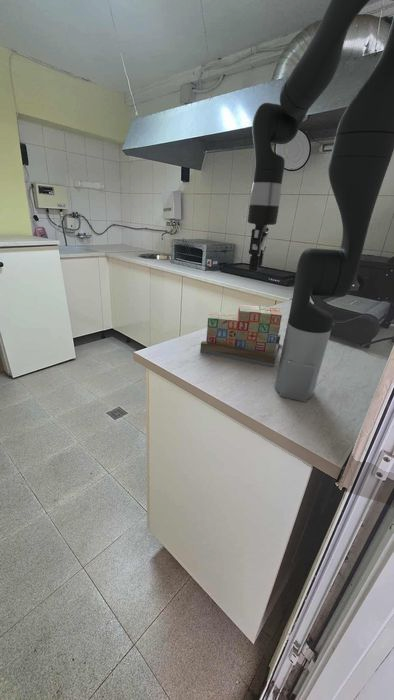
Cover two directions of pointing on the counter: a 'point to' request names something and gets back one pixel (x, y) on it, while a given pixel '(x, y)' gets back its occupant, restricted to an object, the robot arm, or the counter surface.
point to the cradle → (241, 353)
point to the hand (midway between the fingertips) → (255, 268)
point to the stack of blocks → (245, 328)
